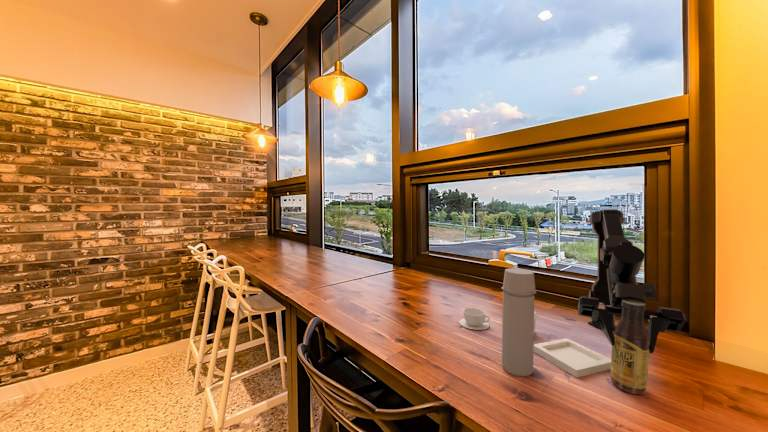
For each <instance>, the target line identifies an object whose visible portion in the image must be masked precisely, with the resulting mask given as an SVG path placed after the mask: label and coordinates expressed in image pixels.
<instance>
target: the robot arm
mask: <svg viewBox="0 0 768 432" xmlns="http://www.w3.org/2000/svg"><path fill="white" fill-rule="evenodd" d="M589 224H590V225H591V228H592V231H593V232H594V233H595V235H596V237H597V279H596V280H595V281H594V282H593V284H592V285H591V290H589V292H588V296H585V295H581V296H579V298H578V304H577V312H578V313H577V314H578V315H579V316H582V317H586V318H587V317H588V318H590V320H591V321H587V324H588V325H591V326H593V327H595V328H598V329H600V330H602V332H603V333H604V335H605V337H606V338H607V340H608V342H609V344H610V345H611V346H612V345H613V346H614V337H613V333H614V331H615V329H616V327H617V325H616V316H620V317H621V316H622V306H621V302H622V299H632V300H637V301H641V302H643V303H645V304H646V302H645V301H647V299H649V300H655V299H657V297H658V293H657V288H656V284H655V283H648V282H647V283H646V282H644V283H643V284H638V281H637V275H639V273H640V271H641V268H642V265H643V263H644V261H645V260H644V259H645V252H644V251H643V250H642V249H640V248H639V247H637V246H635V245H634V244H633V242H632V241H631V240H628V239H627V238H626V237H625V234H624V229H623V226H622V225H624V212H622V211H621V210H619V209H616V208H615V209H611V208H610V209H609V208H608V209H606V208H605V209H601V210H597V211H596V210H594V212H593V211H592V212H591V213H590V216H589ZM644 320H647V321H648V324H647V327H646V330H647V331H648V333H649V334H650V342H649V348H650V352H649V354H654V352H655V347H656V344H657V341H658V337H659V334H660V333H665V332H666V331H670V332H671V331H672V332H680V331H681V330H682V329H683V328H684V326H685V324H686V323H687V321H688V320H687V316H686V314H685V313H684V311H682V310H681V309H679V308H671V307H664V306H658V307H657V309H656V311H649V310H645V311H644Z"/></svg>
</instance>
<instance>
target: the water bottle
mask: <svg viewBox="0 0 768 432" xmlns="http://www.w3.org/2000/svg"><path fill="white" fill-rule="evenodd" d="M500 289H502V318H501V319H502V320H501V321H502V322H501V323H502V325H501V326H502V328H501V366H502V368H503V369H504V370H505V372H506V373H509V374H510V375H512V376H517V377H523V378H524V377H529V376H531V374H532V373H533V372H534V352H533V347H534V341H535V340H534V339H535V338H534V337H535V332H534V311H535V294H537V291H536V283H535V273H534V271H533V270H529V269H526V268H525V269H524V268H517V267H516V268H515V267H510V268H505V269H504V275H503V283H502V287H500Z"/></svg>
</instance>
